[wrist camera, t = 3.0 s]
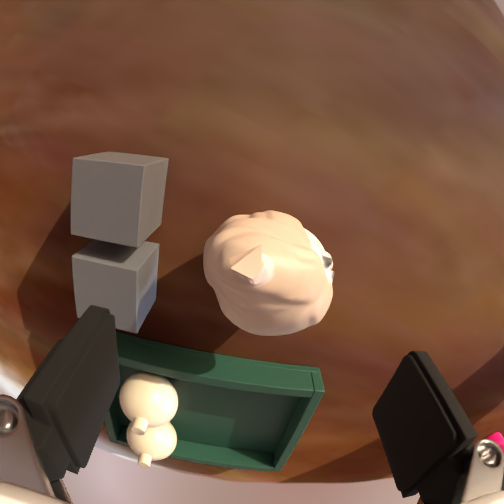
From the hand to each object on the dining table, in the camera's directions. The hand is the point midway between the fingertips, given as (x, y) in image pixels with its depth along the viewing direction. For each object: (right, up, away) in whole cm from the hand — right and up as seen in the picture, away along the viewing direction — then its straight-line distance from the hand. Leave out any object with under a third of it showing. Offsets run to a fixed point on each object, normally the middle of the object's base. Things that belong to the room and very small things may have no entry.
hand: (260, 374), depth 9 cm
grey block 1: (-7, +7, +8) cm, 13 cm away
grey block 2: (-8, +3, +10) cm, 13 cm away
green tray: (-4, -9, +15) cm, 18 cm away
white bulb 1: (-8, -6, +13) cm, 16 cm away
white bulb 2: (-9, -11, +15) cm, 21 cm away
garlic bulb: (+1, +4, +10) cm, 10 cm away
